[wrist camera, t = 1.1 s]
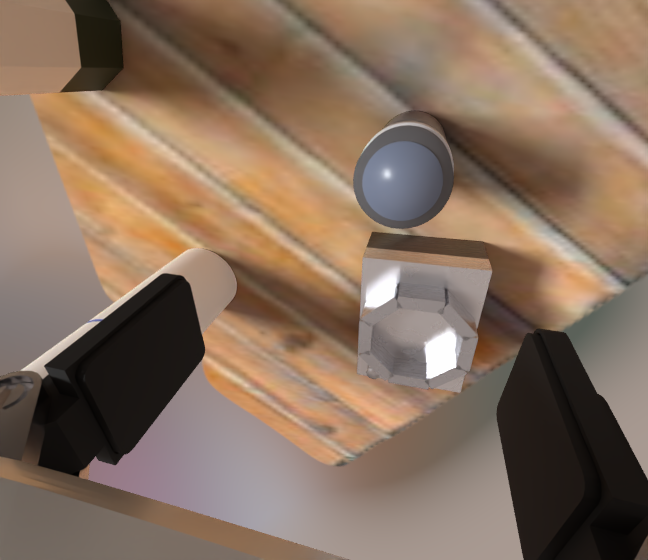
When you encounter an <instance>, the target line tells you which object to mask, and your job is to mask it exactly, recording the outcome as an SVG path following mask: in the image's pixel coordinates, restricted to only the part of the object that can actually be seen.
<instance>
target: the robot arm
mask: <svg viewBox="0 0 648 560" xmlns="http://www.w3.org/2000/svg"><path fill="white" fill-rule="evenodd" d="M204 353H205V345H204V341H203V337H202V332H201V328H200V324H199V320H198V315H197V311H196V307H195V302H194V298H193V294H192V290H191V286H190V283H189V282H188V281H186V279H185V278H184V276H181V275H175V274H168V273H163V274H161V275H159V276H158V277H157V278H156V279H154V280H153V281H152V282H150V283H149V284H148V285H147V286H145V287H144V288H143V289H141V290H140V291H139V292H138V293H136V294H135V295H134V296H133V297H131V298H130V299H129V300H127V301H126V302H125V303H124V304H122V305H121V306H120V307H118V308H117V309H116V310H115V311H113V312H112V313H111V314H109V315H108V316H107V317H106V318H104V319H103V320H102V321H101V322H99V323H98V324H97V325H95V326H94V327H93V328H92V329H90V330H89V331H88V332H86V333H85V334H84V335H83V336H81V337H80V338H79V339H77V340H76V341H75V342H74V343H72V344H71V345H70V346H69V347H67V348H66V349H65V350H63V351H62V352H61V353H60V354H58V355H57V356H56V357H54V358H53V359H52V360H51V361H49V362H48V363H47V364H45V365H44V367H45V369H46V371H47V372H48V375H47V376H46V377H45V378H43V379H42V378H41V376H40V375H39V374H38V373H36V372H33V371H17V372H12V373H8V374H6V375H3V376H0V560H349V559H345V558H342V557H339V556H335V555H333V554H329V553H326V552H323V551H320V550H317V549H313V548H310V547H307V546H304V545H300V544H297V543H294V542H290V541H287V540H284V539H281V538H278V537H274V536H271V535H268V534H264V533H261V532H258V531H255V530H252V529H248V528H245V527H242V526H238V525H235V524H232V523H229V522H225V521H222V520H219V519H216V518H212V517H209V516H206V515H203V514H199V513H196V512H193V511H190V510H186V509H183V508H180V507H176V506H173V505H170V504H167V503H163V502H160V501H157V500H153V499H150V498H147V497H143V496H140V495H136V494H133V493H130V492H126V491H123V490H120V489H116V488H113V487H109V486H106V485H103V484H100V483H96V482H93V481H90V480H88V475H89V465H90V464H89V463H90V462H91V461H92V460H93V459H94V457H95V456H96V457H97V459H98V460H99V461H102V462H106V463H109V464H113V465H116V464H117V463H118V462H119V460H120V459H121V458H122V456H123V455H124V454H128V453H129V452H130V451H131V450H132V449H133V448H134V447H135V446H136V444H137V443H138V442H139V440H140V439H141V438H142V437H143V435H144V434H145V433H146V431H147V430H148V428H149V427H150V426H151V425H152V424H153V422H154V421H155V420H156V418H157V417H158V416H159V414H160V413H161V412H162V411H163V409H164V408H165V407H166V405H167V404H168V403H169V402H170V400H171V399H172V398H173V396H174V395H175V394H176V392H177V391H178V390H179V388H180V387H181V386H182V385H183V383H184V382H185V381H186V380H187V378H188V377H189V376H190V374H191V373H192V372H193V370H194V369H195V368H196V366H197V365H198V364H199V362H200V361H201V360H202V358H203V356H204ZM497 422H498V427H499V432H500V437H501V443H502V449H503V454H504V459H505V464H506V469H507V474H508V480H509V485H510V491H511V496H512V501H513V507H514V512H515V517H516V522H517V527H518V533H519V538H520V543H521V549H522V553H523V558H524V560H648V480H647V477H646V475H645V474H644V472H643V470H642V468H641V466H640V464H639V462H638V460H637V458H636V457H635V455H634V453H633V451H632V449H631V447H630V445H629V443H628V441H627V439H626V437H625V436H624V434H623V432H622V430H621V428H620V426H619V424H618V422H617V420H616V418H615V416H614V415H613V413H612V411H611V409H610V407H609V405H608V403H607V402H606V400H605V399H604V398H603V397H602V396H601V395H599V394H597V392H596V390H595V388H594V386H593V385H592V383H591V381H590V379H589V377H588V375H587V373H586V371H585V369H584V367H583V365H582V363H581V361H580V359H579V357H578V355H577V353H576V351H575V349H574V347H573V345H572V343H571V341H570V339H569V337H568V336H567V334H566V333H564V332H558V331H551V330H545V329H537V330H536V331H535V332H534V334H532V333H528V334H527V335H526V336H525V338H524V341H523V343H522V346H521V348H520V351H519V353H518V356H517V358H516V361H515V363H514V366H513V368H512V371H511V373H510V376H509V378H508V381H507V383H506V386H505V388H504V391H503V393H502V396H501V398H500V401H499V403H498V406H497Z"/></svg>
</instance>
